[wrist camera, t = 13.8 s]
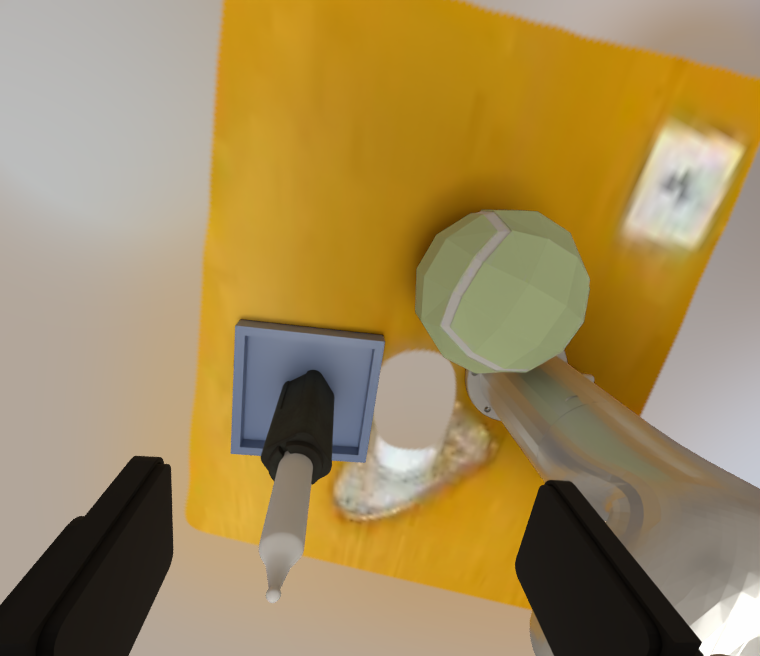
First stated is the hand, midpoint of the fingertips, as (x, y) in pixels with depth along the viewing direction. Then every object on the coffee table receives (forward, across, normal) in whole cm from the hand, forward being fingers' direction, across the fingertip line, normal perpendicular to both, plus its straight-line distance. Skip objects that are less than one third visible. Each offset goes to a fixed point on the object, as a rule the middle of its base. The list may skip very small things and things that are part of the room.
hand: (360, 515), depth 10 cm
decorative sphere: (+34, -14, -1) cm, 37 cm away
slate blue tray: (+34, +3, +15) cm, 37 cm away
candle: (+34, +3, +15) cm, 37 cm away
